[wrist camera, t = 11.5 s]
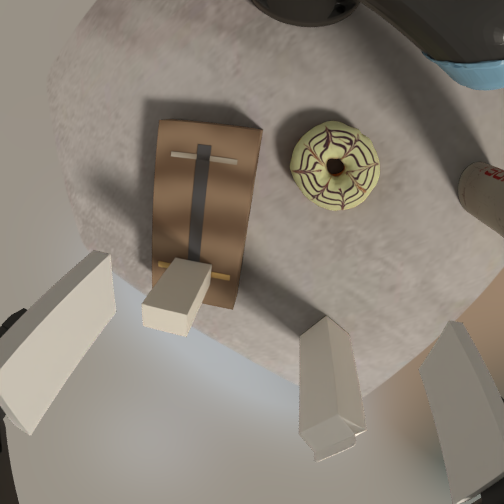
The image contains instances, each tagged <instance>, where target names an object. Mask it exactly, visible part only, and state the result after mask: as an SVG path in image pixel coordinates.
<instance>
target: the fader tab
mask: <svg viewBox="0 0 504 504" xmlns="http://www.w3.org/2000/svg"><path fill="white" fill-rule="evenodd" d="M211 269H212V265H210V264H205V263H200V262H195V261H190V260H185V259H180V258H175V259H174V260H173V262H172V263H171V264H170V266H169V267H168V268H167V270H166V271H165V272H164V274H163V275H162V276H161V278H160V279H159V280H158V282H157V283H156V285H155V286H154V287H153V289H152V290H151V291H150V293H149V294H148V296H147V297H146V298H145V300H144V302H143V303H142V317H143V326H146V327H149V328H153V329H157V330H161V331H165V332H169V333H172V334H177V335H180V336H185V337H187V334H188V333H189V330H190V328H191V326H192V323H193V321H194V319H195V317H196V314H197V312H198V310H199V308H200V305H201V303H202V301H203V299H204V297H205V294H206V292H207V290H208V288H209V285H210V279H211Z"/></svg>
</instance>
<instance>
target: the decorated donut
mask: <svg viewBox="0 0 504 504" xmlns="http://www.w3.org/2000/svg"><path fill="white" fill-rule="evenodd" d="M330 158H334V159H338V158H339V159H340V160H341V161H342V162H343V163H344V169H343V171H342V172H340V173H338V174H332V173H329V172H328V171H327V166H326V163H327V161H328V160H329V159H330ZM379 166H380V163H379V159H378V156H377V153H376V151H375V149H374V147H373V144H372V142H371V140H370V139H369V138H368V137H366V136H365V135H363V134H361V132H360V131H359V130H358V129H356V128H352V127H349V126H347V125H345V124H343V123H341V122H337V121H327V122H325V123H322V124H320V125H318V126H315V127H314V128H313V129H311V130H310V131H308V132H307V133H306V134H305V135H303V136H302V137H301V139H300V140H299V141H298V143H297V144H296V146H295V148H294V150H293V154H292V159H291V163H290V170H291V173H292V175H293V178H294V181H295V182H296V184H297V185H298V187H299V189H300V190H301V191H302V193H303V194H304V195H305V196H306V197H307V198H308V199H309V200H311V201H312V202H314V203H315V204H316V205H318V206H320V207H323V208H325V209H328V210H334V211H336V210H346V209H350V208H354V207H355V206H357V205H359V204H360V203H361V202H363V201H364V200H365V199H366V198H367V196H368V195H369V194H370V192H371V191H372V189H373V188H374V187H375V185H376V184H377V181H378V179H379V175H380V167H379Z"/></svg>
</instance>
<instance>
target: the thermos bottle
mask: <svg viewBox="0 0 504 504" xmlns="http://www.w3.org/2000/svg"><path fill="white" fill-rule="evenodd" d="M458 195H459V200H460V203H461V205H462V207H463V208H464V209H465V210H466V211H467V212H468V213H470V214H471V215H473V216H474V217H476V218H477V219H478V220H480V221H481V222H483V223H484V224H486V225H487V226H488V227H490V228H491V229H493V230H494V231H496V232H497V233H498V234H500V235H501V236H502V237H504V170H502V169H499V168H497V167H494V166H491V165H488V164H486V163H482V162H476V163H473V164H471V165H469V166H468V167H467V168H466V169H465V170H464V172H463V173H462V175H461V177H460V181H459V185H458Z"/></svg>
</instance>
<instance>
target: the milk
mask: <svg viewBox="0 0 504 504" xmlns="http://www.w3.org/2000/svg"><path fill="white" fill-rule="evenodd" d="M299 345H300V395H299V400H300V401H299V435H300V436H301V437H302V439H303V440H304V441H305V442H306V443H307V444H308V446H309V447H310V448H311V449H312V450H313V451H314V455H315V457H314V459H315V462H318V461H321V460H324V459H326V458H328V457H331V456H333V455H336V454H338V453H340V452H342V451H345V450H347V449H349V448H351V447H353V446H355V444H356V438H355V436H357V435H359V434H361V433H363V432H364V431H366V430H367V427H366V421H365V414H364V408H363V402H362V396H361V390H360V384H359V379H358V374H357V368H356V363H355V358H354V353H353V348H352V343H351V339H350V335H349V334H348V333H347V332H346V331H344V330H343V329H342V328H341V327H340V326H338V325H337V324H336V323H335V322H334V321H333V320H331V319H330V318H329V317H328V316H325V317H324V318H323V319H321V320H320V321H319V322H318V323H316V324H315V325H314V326H312V327H311V328H310V329H308V330H307V331H306V332H305V333H303V334H302V335H301V336H300V337H299Z"/></svg>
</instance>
